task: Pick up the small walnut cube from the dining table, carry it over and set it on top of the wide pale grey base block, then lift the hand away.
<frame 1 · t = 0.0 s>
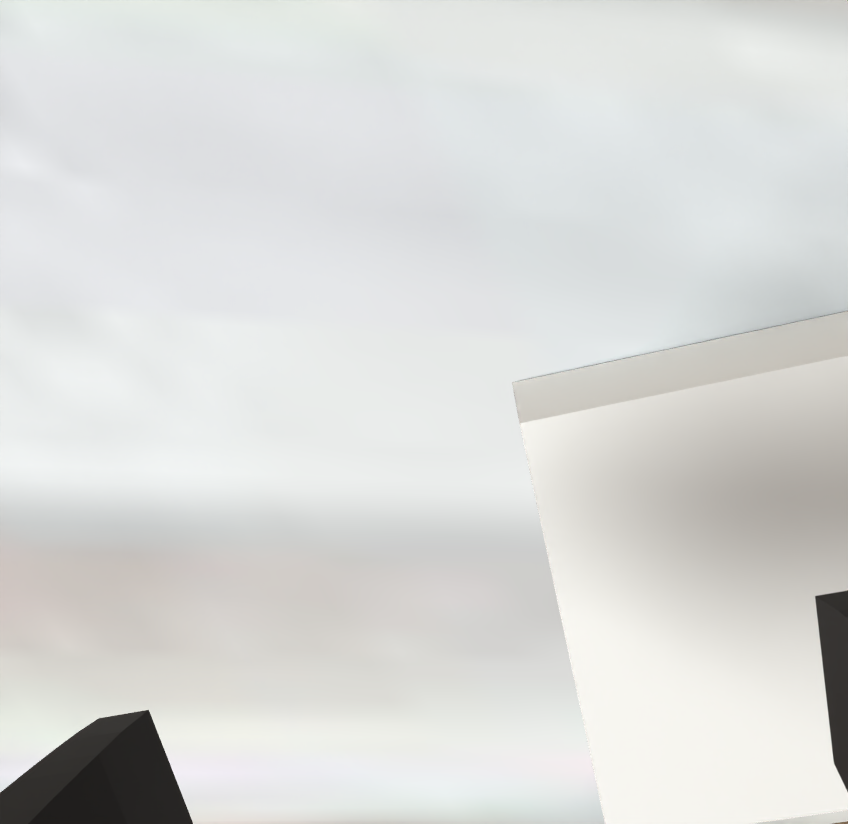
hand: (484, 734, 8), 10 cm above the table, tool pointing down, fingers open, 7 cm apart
base block: (766, 540, 18), on the table
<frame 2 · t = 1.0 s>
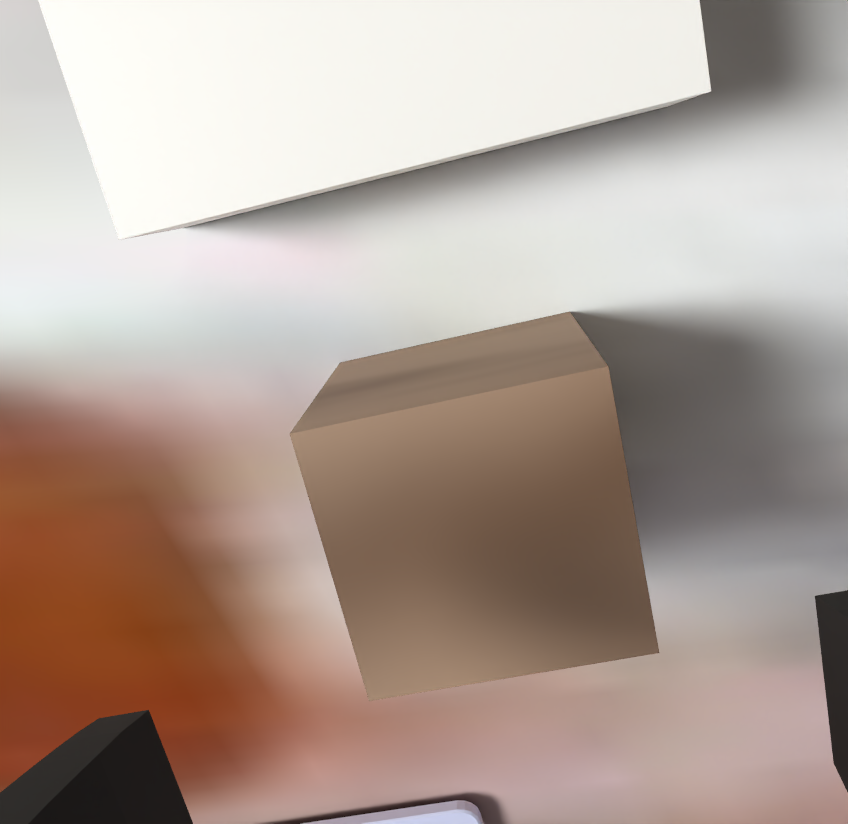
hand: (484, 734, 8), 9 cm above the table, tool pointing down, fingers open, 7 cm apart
walnut cube: (477, 445, 18), on the table
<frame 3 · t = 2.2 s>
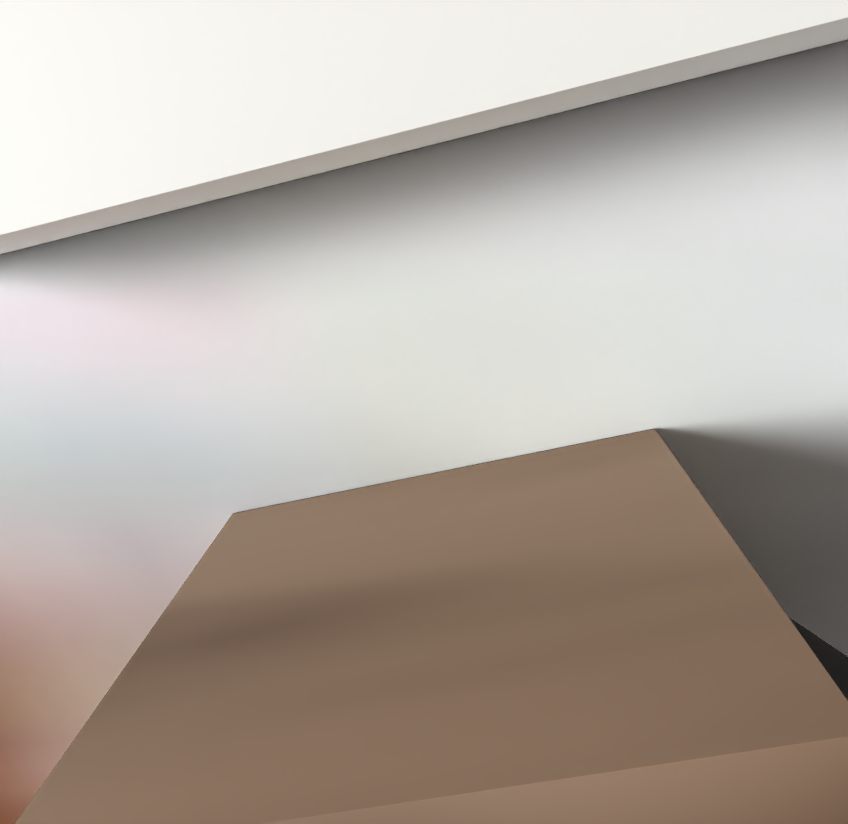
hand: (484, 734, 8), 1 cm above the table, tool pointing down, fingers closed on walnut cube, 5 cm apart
walnut cube: (482, 656, 10), on the table, touching gripper
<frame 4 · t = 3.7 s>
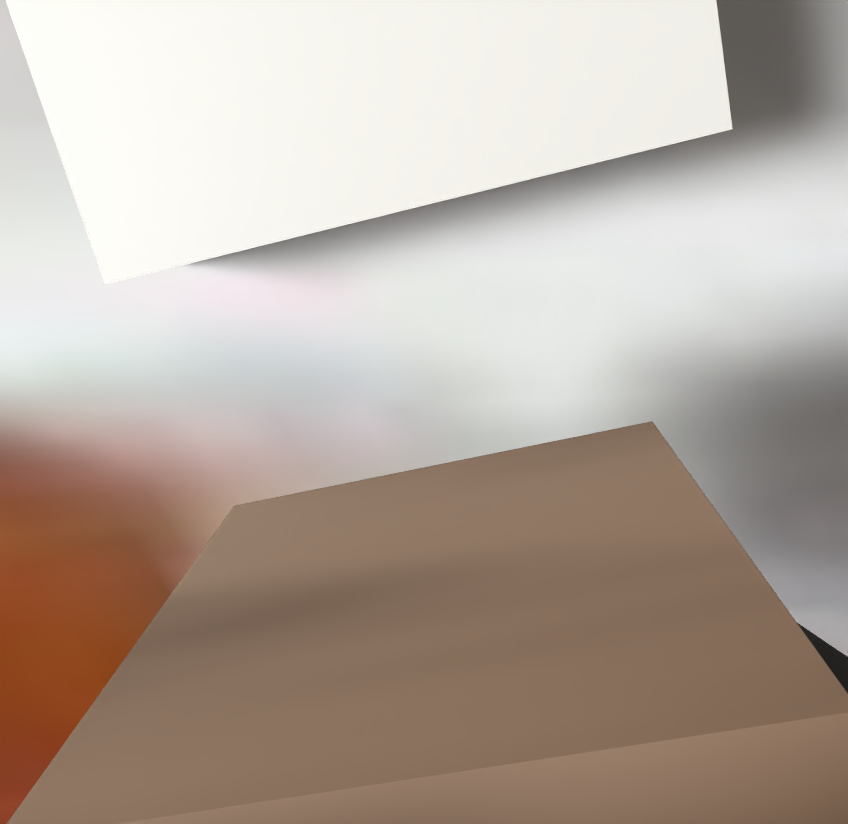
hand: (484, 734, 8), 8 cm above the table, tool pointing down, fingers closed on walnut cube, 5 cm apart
walnut cube: (481, 648, 10), point 7 cm above the table, touching gripper
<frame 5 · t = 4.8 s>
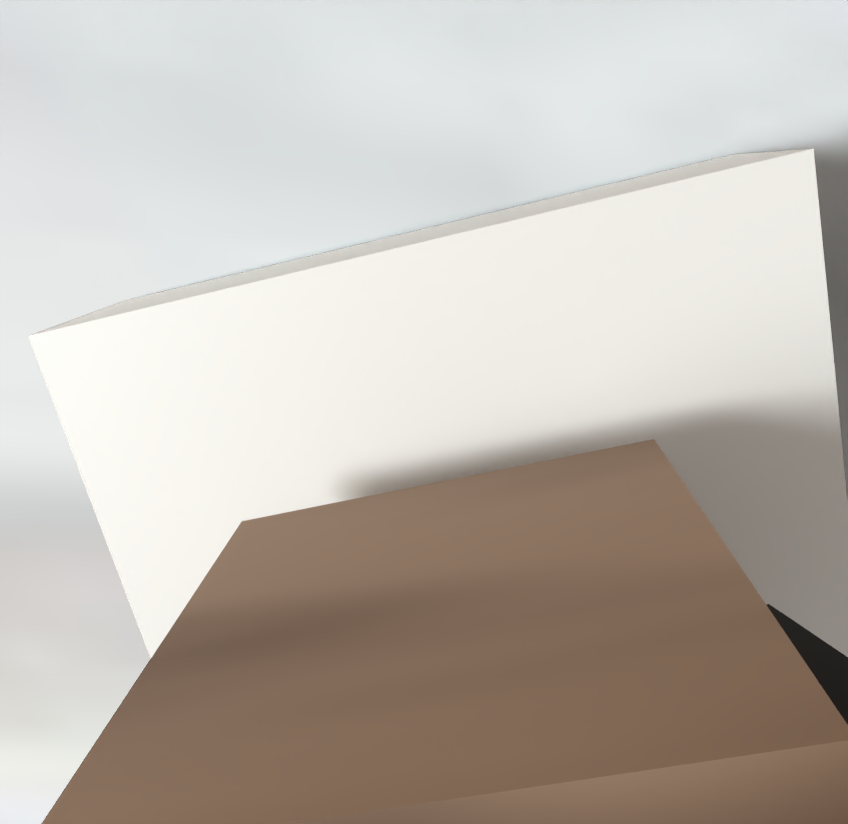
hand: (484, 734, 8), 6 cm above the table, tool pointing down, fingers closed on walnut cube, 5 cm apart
walnut cube: (485, 661, 10), point 4 cm above the table, touching gripper
base block: (479, 512, 14), on the table
when the fingers open (5 cm above the table, at t = 5.4 s): walnut cube stays where it is, resting on base block.
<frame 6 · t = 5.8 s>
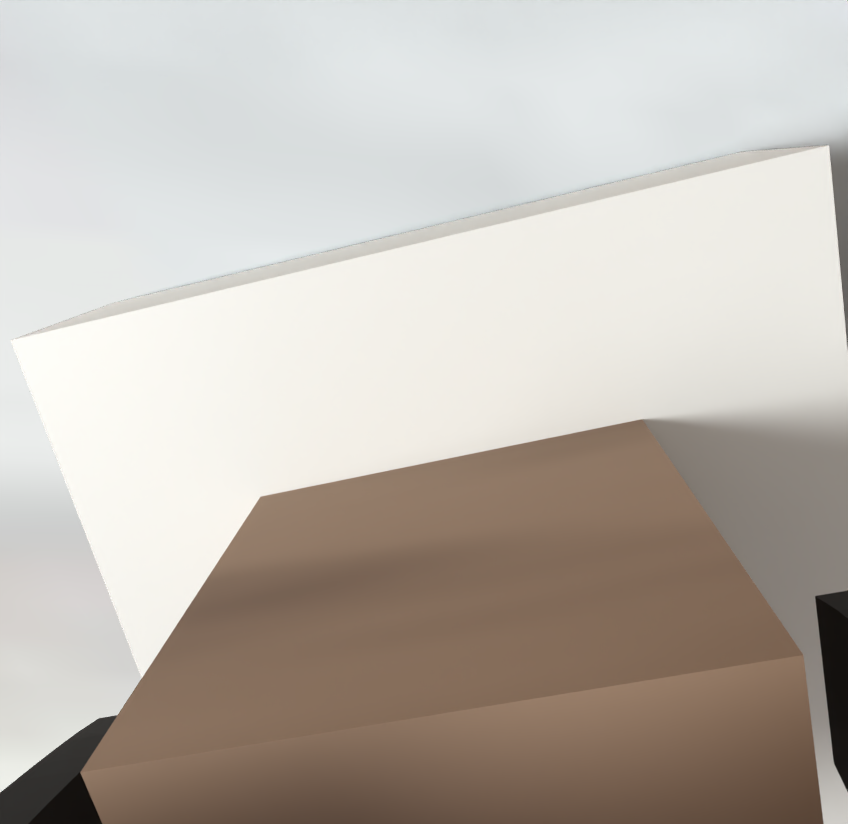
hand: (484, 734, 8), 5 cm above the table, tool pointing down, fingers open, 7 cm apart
walnut cube: (486, 627, 11), point 3 cm above the table, touching base block
base block: (480, 520, 14), on the table
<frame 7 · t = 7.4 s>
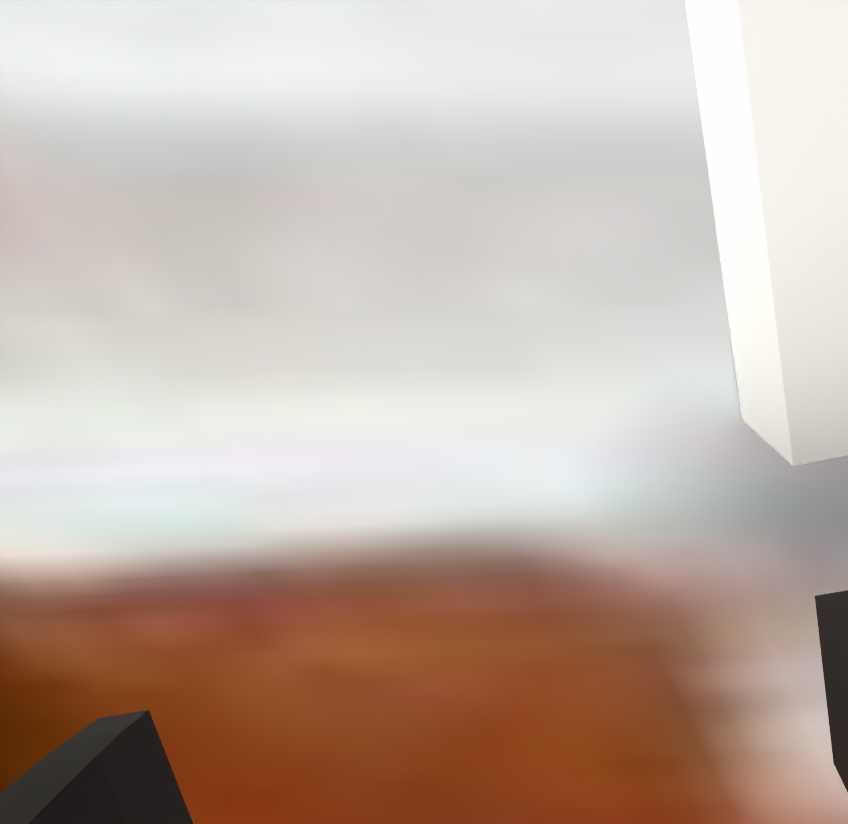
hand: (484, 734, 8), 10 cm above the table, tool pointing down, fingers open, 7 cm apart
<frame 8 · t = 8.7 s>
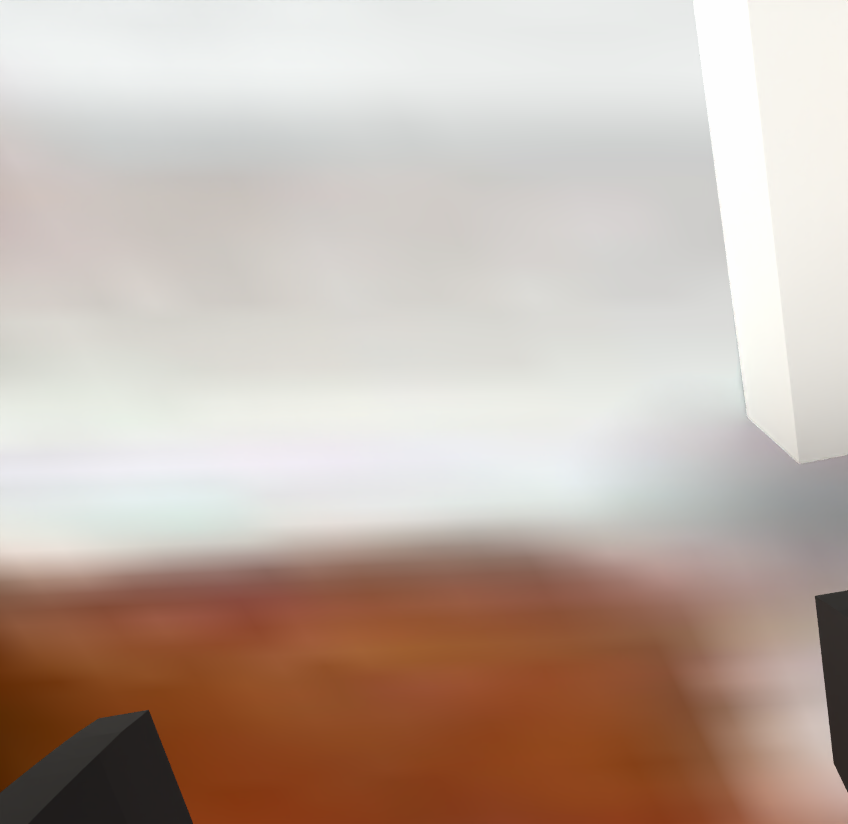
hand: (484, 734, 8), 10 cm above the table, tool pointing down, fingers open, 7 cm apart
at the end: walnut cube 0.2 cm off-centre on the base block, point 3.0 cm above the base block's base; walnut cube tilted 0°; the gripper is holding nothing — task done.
